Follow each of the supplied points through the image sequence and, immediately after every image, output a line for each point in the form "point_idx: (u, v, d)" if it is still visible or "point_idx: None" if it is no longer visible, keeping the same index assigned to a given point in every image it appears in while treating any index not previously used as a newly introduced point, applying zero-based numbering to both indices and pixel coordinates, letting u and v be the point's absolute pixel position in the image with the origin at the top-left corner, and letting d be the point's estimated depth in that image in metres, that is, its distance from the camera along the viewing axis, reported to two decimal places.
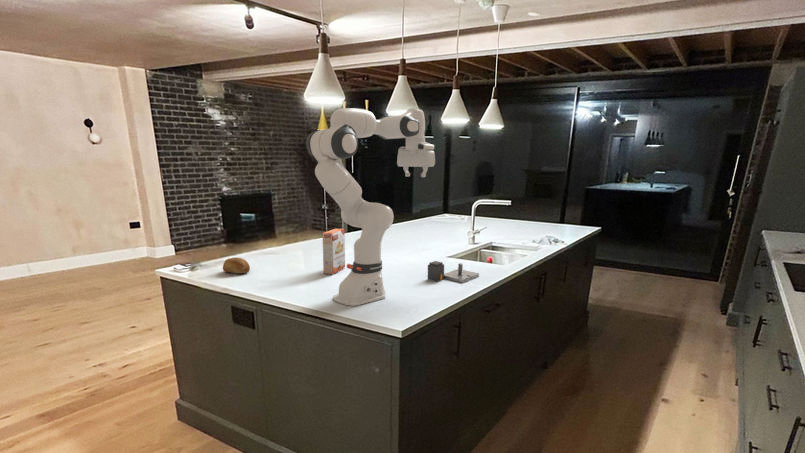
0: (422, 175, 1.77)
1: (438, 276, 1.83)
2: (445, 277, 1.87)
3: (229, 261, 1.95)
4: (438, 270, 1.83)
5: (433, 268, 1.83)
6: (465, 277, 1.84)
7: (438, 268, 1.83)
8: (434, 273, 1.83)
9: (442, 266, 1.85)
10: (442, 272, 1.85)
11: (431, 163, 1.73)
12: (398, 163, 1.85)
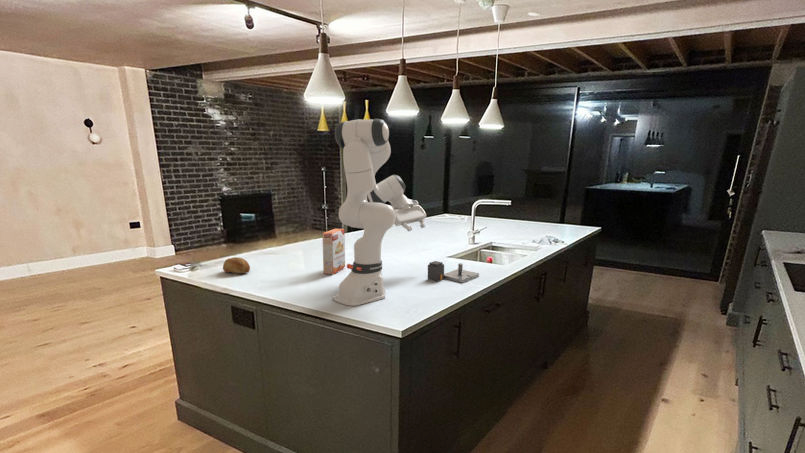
0: (424, 224, 1.94)
1: (438, 276, 1.83)
2: (445, 277, 1.87)
3: (229, 261, 1.95)
4: (438, 270, 1.83)
5: (433, 268, 1.83)
6: (465, 277, 1.84)
7: (438, 268, 1.83)
8: (434, 273, 1.83)
9: (442, 266, 1.85)
10: (442, 272, 1.85)
11: None
12: (399, 219, 1.86)
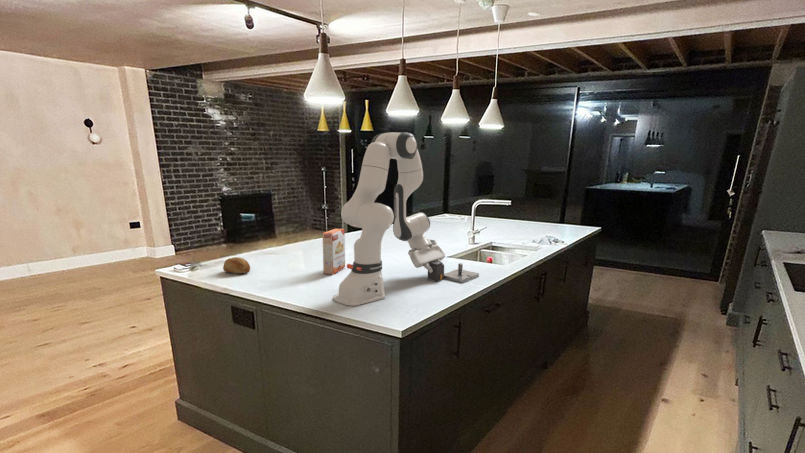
0: None
1: (438, 276, 1.83)
2: (445, 277, 1.87)
3: (229, 261, 1.95)
4: (438, 270, 1.83)
5: (433, 268, 1.83)
6: (465, 277, 1.84)
7: (438, 268, 1.83)
8: (434, 273, 1.83)
9: (442, 266, 1.85)
10: (442, 272, 1.85)
11: None
12: (420, 261, 1.80)
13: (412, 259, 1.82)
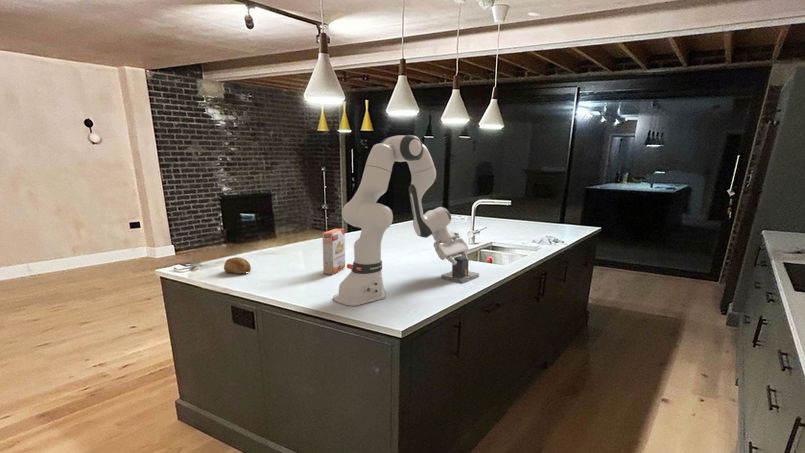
0: (467, 258, 1.91)
1: (463, 271, 1.86)
2: (445, 277, 1.87)
3: (230, 261, 1.95)
4: (463, 265, 1.85)
5: (458, 263, 1.86)
6: (465, 277, 1.84)
7: (463, 263, 1.85)
8: (459, 268, 1.86)
9: (466, 261, 1.87)
10: (466, 267, 1.88)
11: None
12: (445, 253, 1.82)
13: (437, 251, 1.84)
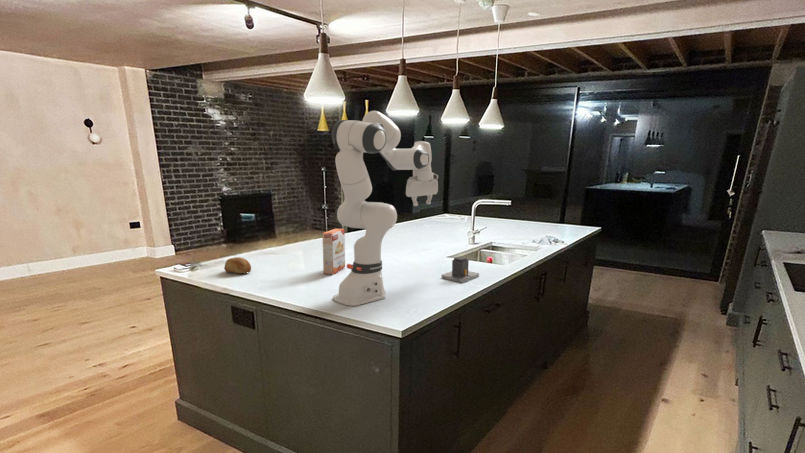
0: (429, 202, 1.93)
1: (463, 271, 1.86)
2: (445, 277, 1.87)
3: (230, 261, 1.95)
4: (463, 265, 1.85)
5: (458, 263, 1.86)
6: (465, 277, 1.84)
7: (463, 263, 1.85)
8: (459, 268, 1.86)
9: (466, 261, 1.87)
10: (466, 267, 1.88)
11: None
12: (412, 194, 1.82)
13: (407, 187, 1.82)
